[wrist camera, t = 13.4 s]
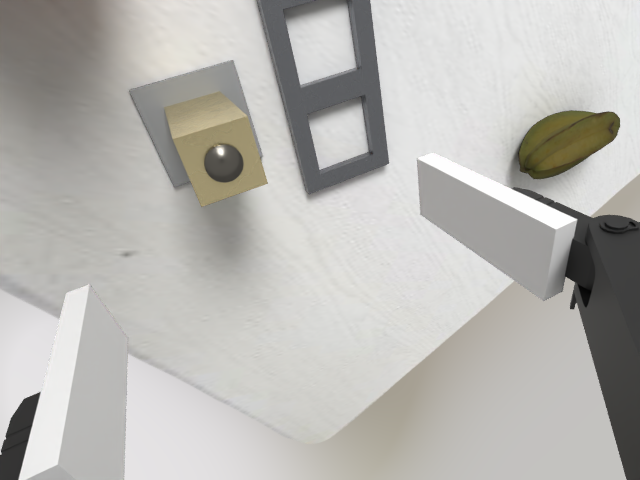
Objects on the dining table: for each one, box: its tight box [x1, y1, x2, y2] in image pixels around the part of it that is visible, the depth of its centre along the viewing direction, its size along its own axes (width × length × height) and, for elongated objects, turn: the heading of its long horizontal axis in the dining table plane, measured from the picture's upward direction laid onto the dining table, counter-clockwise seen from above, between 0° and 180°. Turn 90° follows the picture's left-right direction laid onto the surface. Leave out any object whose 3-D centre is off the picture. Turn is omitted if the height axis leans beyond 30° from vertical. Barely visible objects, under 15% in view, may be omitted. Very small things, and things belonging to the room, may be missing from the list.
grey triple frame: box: [257, 0, 389, 194], centre depth 36 cm, size 10×28×1 cm, turn 13°
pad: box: [129, 60, 263, 187], centre depth 35 cm, size 9×9×1 cm
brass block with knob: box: [164, 91, 268, 207], centre depth 31 cm, size 5×5×11 cm
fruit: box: [519, 111, 620, 179], centre depth 51 cm, size 11×12×7 cm
